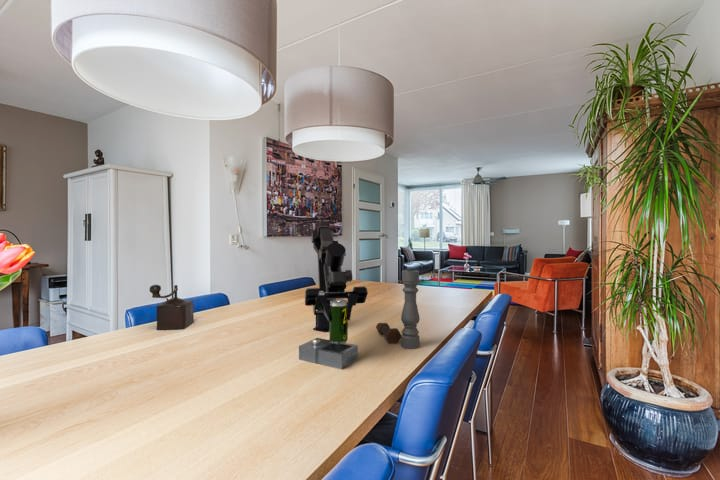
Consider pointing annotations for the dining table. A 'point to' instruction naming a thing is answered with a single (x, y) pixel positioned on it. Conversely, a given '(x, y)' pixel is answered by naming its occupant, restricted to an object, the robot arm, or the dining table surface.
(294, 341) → the dining table surface
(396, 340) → the bolt
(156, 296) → the manual coffee grinder
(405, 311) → the turned furniture leg
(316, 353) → the jig
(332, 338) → the beer can
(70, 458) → the dining table surface
